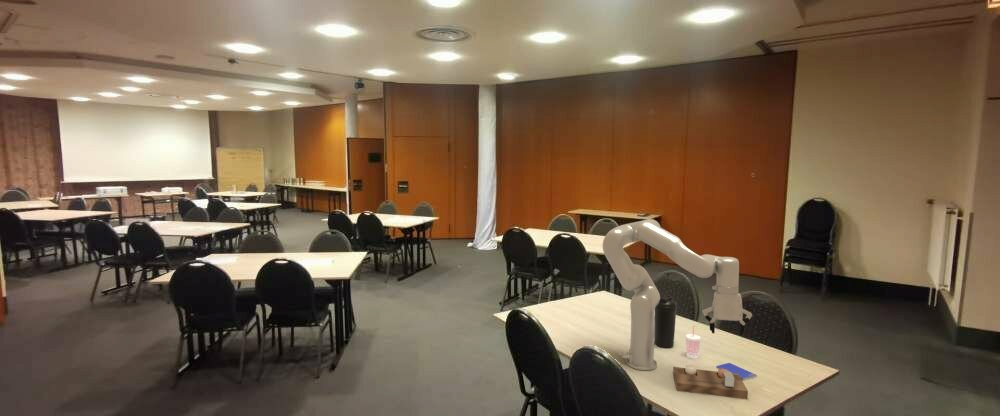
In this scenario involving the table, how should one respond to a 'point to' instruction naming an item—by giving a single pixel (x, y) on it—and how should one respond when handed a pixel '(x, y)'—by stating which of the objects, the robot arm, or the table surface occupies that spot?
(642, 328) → the robot arm
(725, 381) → the grey block
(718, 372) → the terracotta button
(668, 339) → the water bottle
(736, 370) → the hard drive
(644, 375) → the table surface
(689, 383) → the panel
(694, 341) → the beverage cup
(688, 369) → the cream button
